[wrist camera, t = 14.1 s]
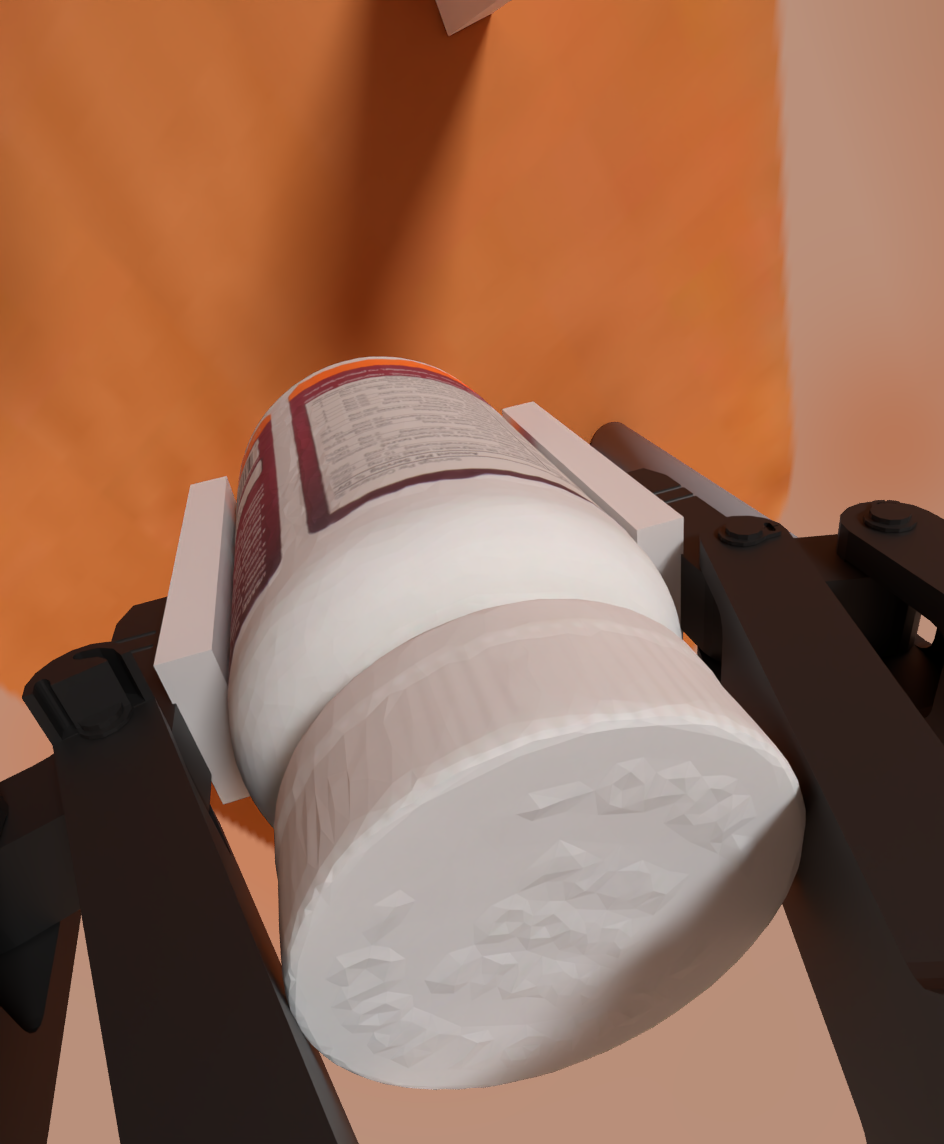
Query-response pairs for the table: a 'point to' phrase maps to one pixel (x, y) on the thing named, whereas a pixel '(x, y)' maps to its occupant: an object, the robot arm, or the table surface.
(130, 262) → the table surface
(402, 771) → the pill bottle
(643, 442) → the door
